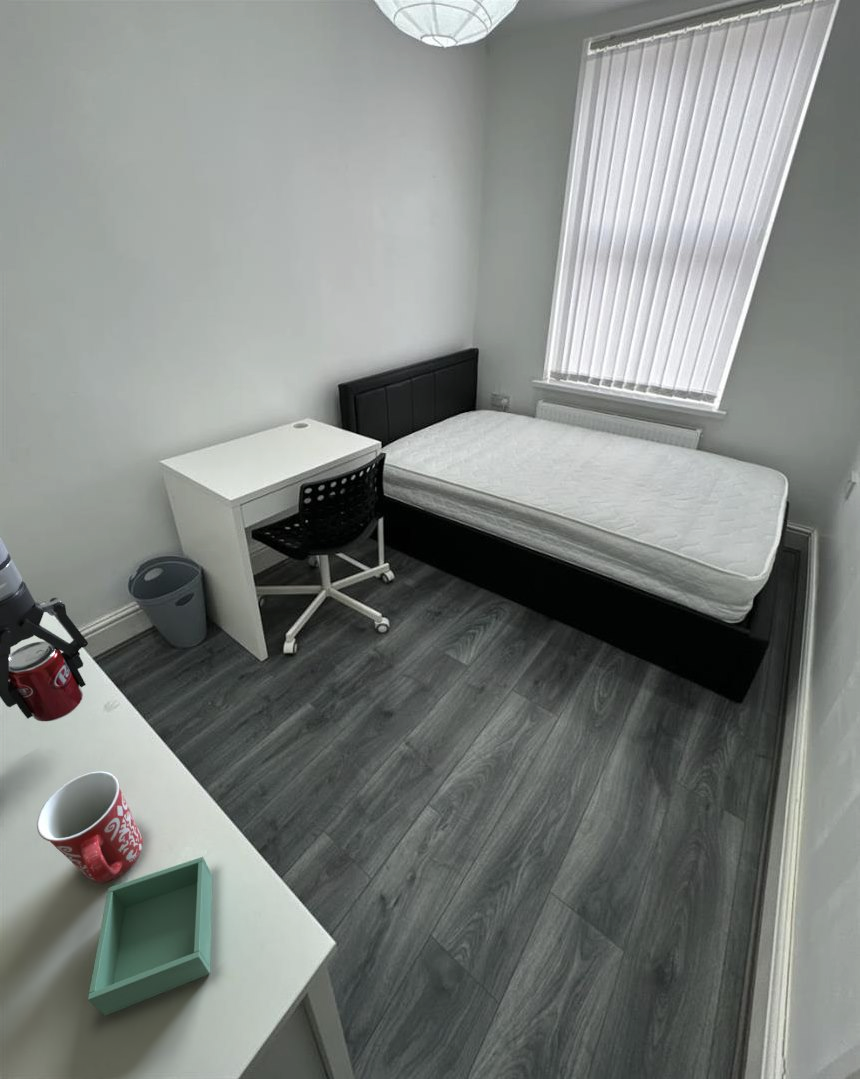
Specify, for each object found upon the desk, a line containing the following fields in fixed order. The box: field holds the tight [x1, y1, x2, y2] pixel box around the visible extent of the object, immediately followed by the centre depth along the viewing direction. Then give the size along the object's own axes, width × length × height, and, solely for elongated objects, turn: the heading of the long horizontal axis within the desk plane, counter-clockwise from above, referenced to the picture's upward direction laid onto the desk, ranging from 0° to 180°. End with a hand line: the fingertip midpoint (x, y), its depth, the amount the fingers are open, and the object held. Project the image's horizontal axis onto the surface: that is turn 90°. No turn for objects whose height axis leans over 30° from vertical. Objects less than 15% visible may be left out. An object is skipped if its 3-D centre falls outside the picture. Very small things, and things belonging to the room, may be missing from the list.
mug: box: [36, 771, 144, 884], centre depth 64 cm, size 13×9×14 cm
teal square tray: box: [87, 856, 213, 1016], centre depth 59 cm, size 11×11×6 cm
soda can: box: [8, 640, 84, 722], centre depth 79 cm, size 7×7×12 cm
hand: (54, 697), depth 81 cm, fingers closed on soda can, 7 cm apart
